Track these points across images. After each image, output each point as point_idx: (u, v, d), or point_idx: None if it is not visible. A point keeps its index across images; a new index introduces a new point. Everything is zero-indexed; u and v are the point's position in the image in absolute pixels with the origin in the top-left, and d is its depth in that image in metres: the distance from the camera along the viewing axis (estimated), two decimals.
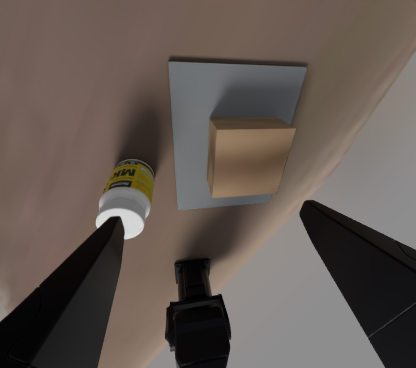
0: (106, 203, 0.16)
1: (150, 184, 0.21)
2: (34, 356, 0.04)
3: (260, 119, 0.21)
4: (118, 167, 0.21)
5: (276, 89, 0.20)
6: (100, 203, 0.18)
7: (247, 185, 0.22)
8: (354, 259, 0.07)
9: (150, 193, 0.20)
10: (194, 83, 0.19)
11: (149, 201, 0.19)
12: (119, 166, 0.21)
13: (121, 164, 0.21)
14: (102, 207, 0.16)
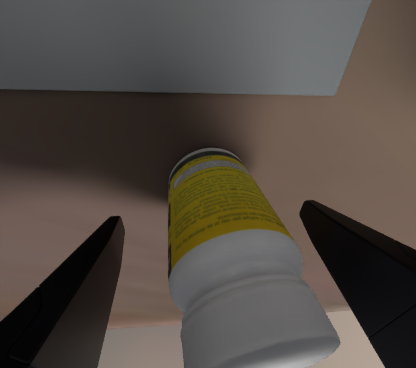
0: None
1: (206, 184, 0.07)
2: (34, 356, 0.04)
3: None
4: None
5: None
6: None
7: None
8: (354, 259, 0.07)
9: (221, 203, 0.06)
10: None
11: (233, 232, 0.05)
12: None
13: None
14: None
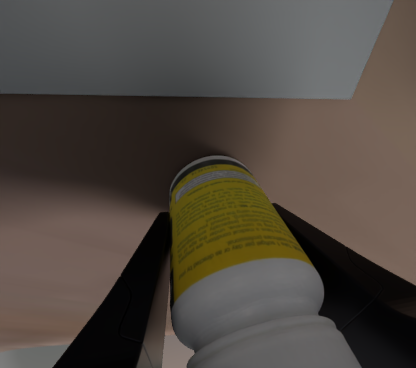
0: None
1: (213, 199, 0.07)
2: (142, 336, 0.04)
3: None
4: None
5: None
6: None
7: None
8: None
9: (230, 224, 0.06)
10: None
11: (246, 262, 0.05)
12: None
13: None
14: None
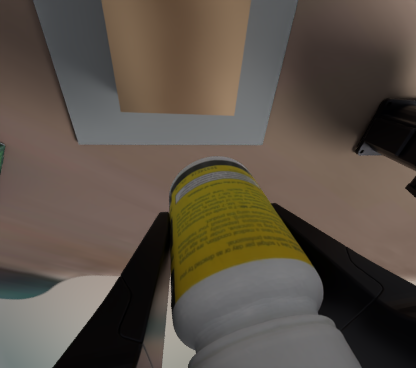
0: None
1: (213, 200, 0.07)
2: (142, 336, 0.04)
3: None
4: None
5: None
6: None
7: (220, 47, 0.12)
8: None
9: (231, 225, 0.06)
10: (92, 118, 0.16)
11: (247, 263, 0.05)
12: None
13: None
14: None
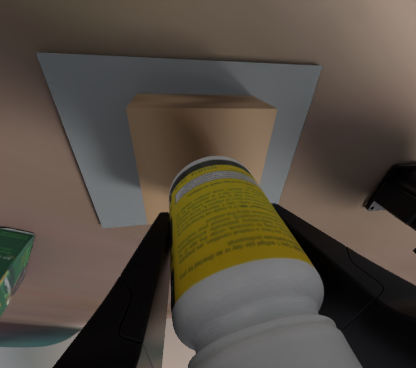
0: None
1: (213, 200, 0.07)
2: (142, 336, 0.04)
3: None
4: None
5: (92, 107, 0.13)
6: None
7: None
8: None
9: (231, 224, 0.06)
10: (115, 208, 0.17)
11: (247, 262, 0.05)
12: None
13: None
14: None
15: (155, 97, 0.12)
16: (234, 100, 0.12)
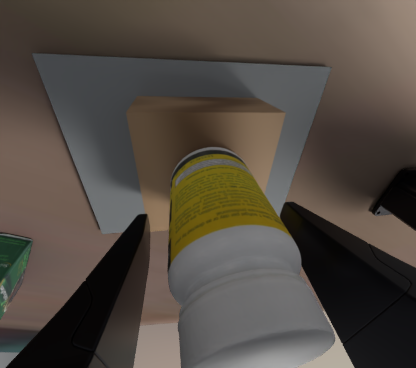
0: None
1: (207, 181, 0.08)
2: (96, 345, 0.04)
3: None
4: None
5: (91, 110, 0.12)
6: None
7: None
8: (328, 263, 0.07)
9: (220, 200, 0.07)
10: (116, 213, 0.17)
11: (231, 227, 0.05)
12: None
13: None
14: None
15: (157, 100, 0.11)
16: (239, 103, 0.11)
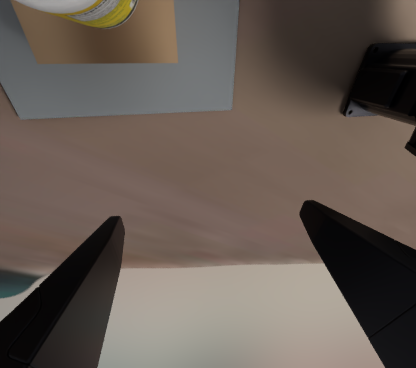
0: None
1: None
2: (34, 356, 0.04)
3: None
4: None
5: None
6: None
7: None
8: (354, 259, 0.07)
9: None
10: (28, 86, 0.15)
11: None
12: None
13: None
14: None
15: None
16: None
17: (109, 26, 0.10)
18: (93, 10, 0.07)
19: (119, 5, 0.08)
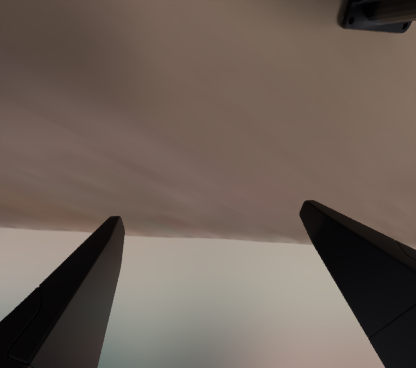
0: None
1: None
2: (34, 356, 0.04)
3: None
4: None
5: None
6: None
7: None
8: (354, 259, 0.07)
9: None
10: None
11: None
12: None
13: None
14: None
15: None
16: None
17: None
18: None
19: None
